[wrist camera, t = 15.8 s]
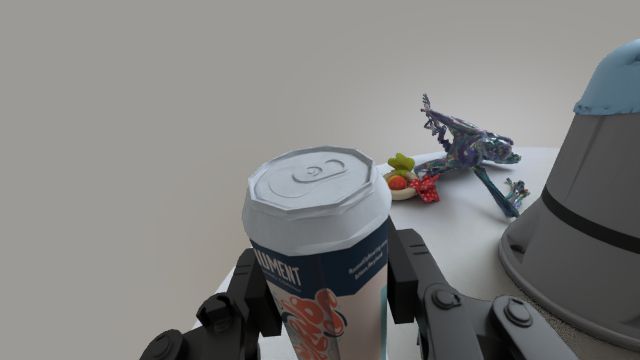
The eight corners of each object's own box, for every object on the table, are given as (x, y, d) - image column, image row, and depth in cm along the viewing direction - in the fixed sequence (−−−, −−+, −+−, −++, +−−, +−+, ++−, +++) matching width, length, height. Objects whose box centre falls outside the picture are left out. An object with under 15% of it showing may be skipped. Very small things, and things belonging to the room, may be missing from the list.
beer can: (293, 332, 14) (229, 163, 8) (360, 300, 15) (345, 132, 10) (320, 436, 10) (234, 253, 4) (407, 383, 11) (433, 180, 6)
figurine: (411, 203, 47) (456, 163, 54) (519, 224, 31) (564, 163, 38) (378, 114, 42) (433, 81, 48) (491, 83, 26) (550, 41, 32)
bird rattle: (370, 186, 47) (409, 168, 48) (399, 227, 39) (446, 206, 40) (366, 165, 43) (409, 145, 43) (398, 206, 35) (450, 182, 35)
